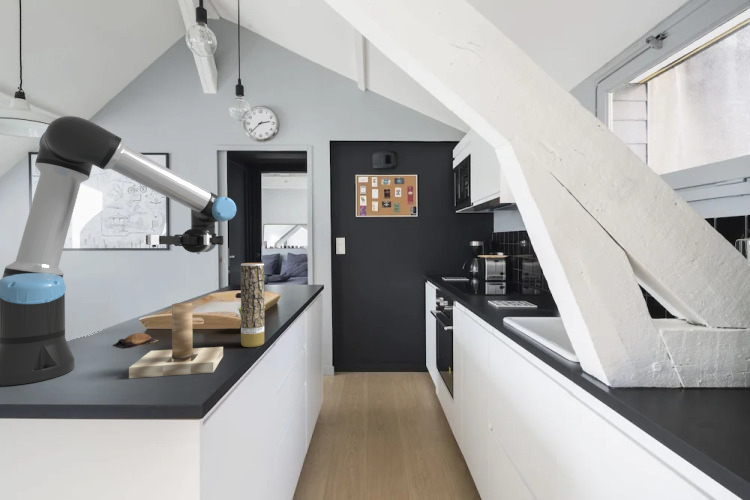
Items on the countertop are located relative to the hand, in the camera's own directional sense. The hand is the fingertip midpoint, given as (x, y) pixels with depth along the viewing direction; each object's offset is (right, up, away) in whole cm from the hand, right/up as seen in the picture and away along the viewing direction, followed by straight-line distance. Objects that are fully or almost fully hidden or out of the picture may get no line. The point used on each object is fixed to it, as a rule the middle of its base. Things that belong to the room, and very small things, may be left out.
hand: (177, 239), depth 99 cm
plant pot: (+9, -32, +34) cm, 47 cm away
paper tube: (+15, -32, +15) cm, 39 cm away
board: (+3, -32, -5) cm, 33 cm away
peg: (+5, -32, -6) cm, 33 cm away
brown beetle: (-22, -33, +17) cm, 43 cm away
